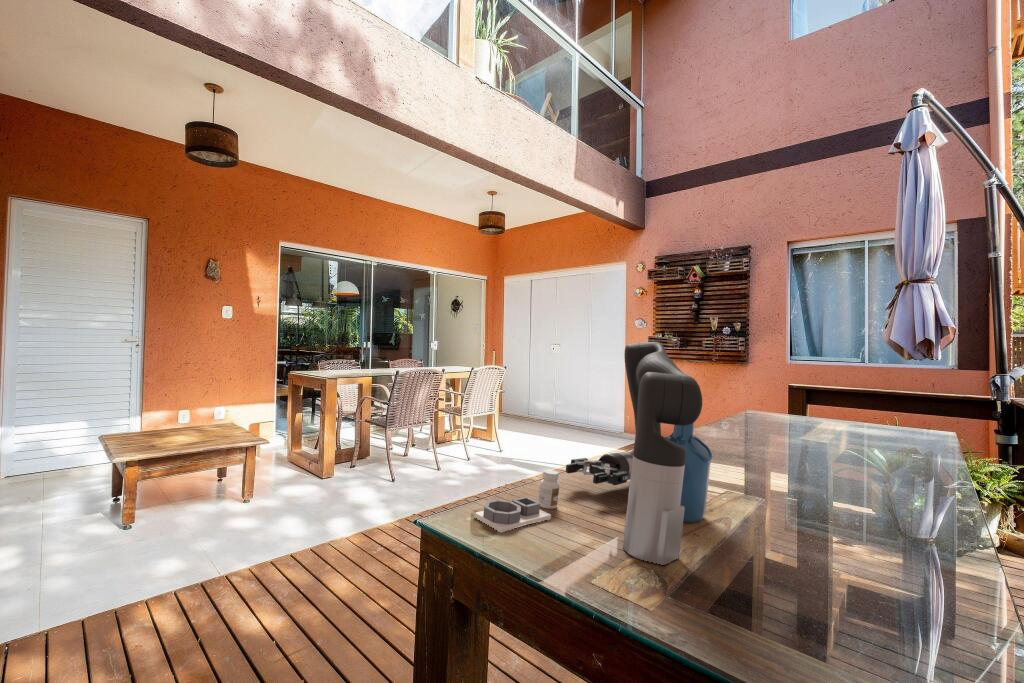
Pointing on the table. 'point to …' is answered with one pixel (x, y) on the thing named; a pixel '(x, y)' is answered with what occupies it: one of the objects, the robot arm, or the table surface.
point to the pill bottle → (549, 489)
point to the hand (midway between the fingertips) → (580, 473)
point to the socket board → (511, 513)
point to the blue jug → (693, 472)
